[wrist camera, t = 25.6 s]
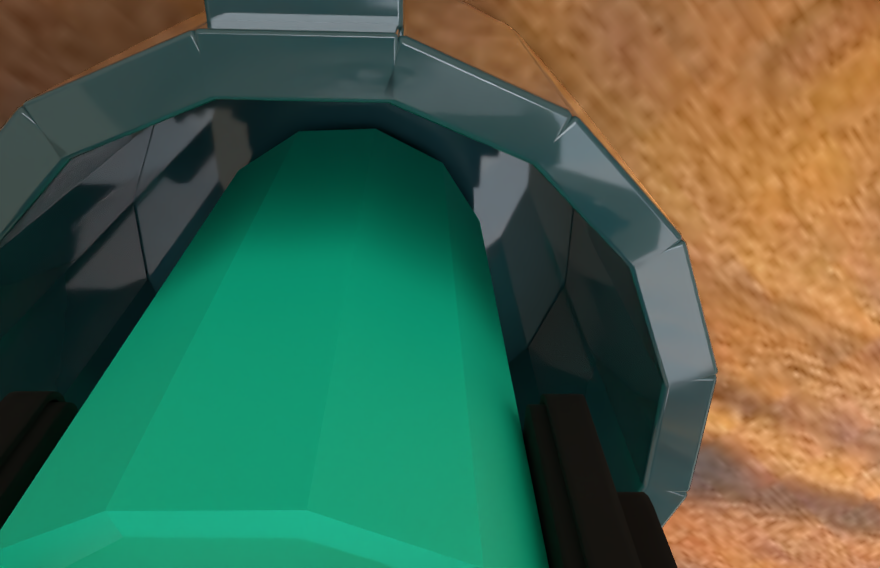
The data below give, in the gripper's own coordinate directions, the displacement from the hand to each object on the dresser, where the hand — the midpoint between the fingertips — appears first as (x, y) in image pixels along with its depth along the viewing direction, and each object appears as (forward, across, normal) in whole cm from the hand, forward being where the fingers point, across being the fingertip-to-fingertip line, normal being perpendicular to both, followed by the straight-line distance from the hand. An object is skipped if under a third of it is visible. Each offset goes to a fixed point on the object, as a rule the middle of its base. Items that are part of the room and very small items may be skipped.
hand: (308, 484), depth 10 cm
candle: (+7, 0, 0) cm, 7 cm away
